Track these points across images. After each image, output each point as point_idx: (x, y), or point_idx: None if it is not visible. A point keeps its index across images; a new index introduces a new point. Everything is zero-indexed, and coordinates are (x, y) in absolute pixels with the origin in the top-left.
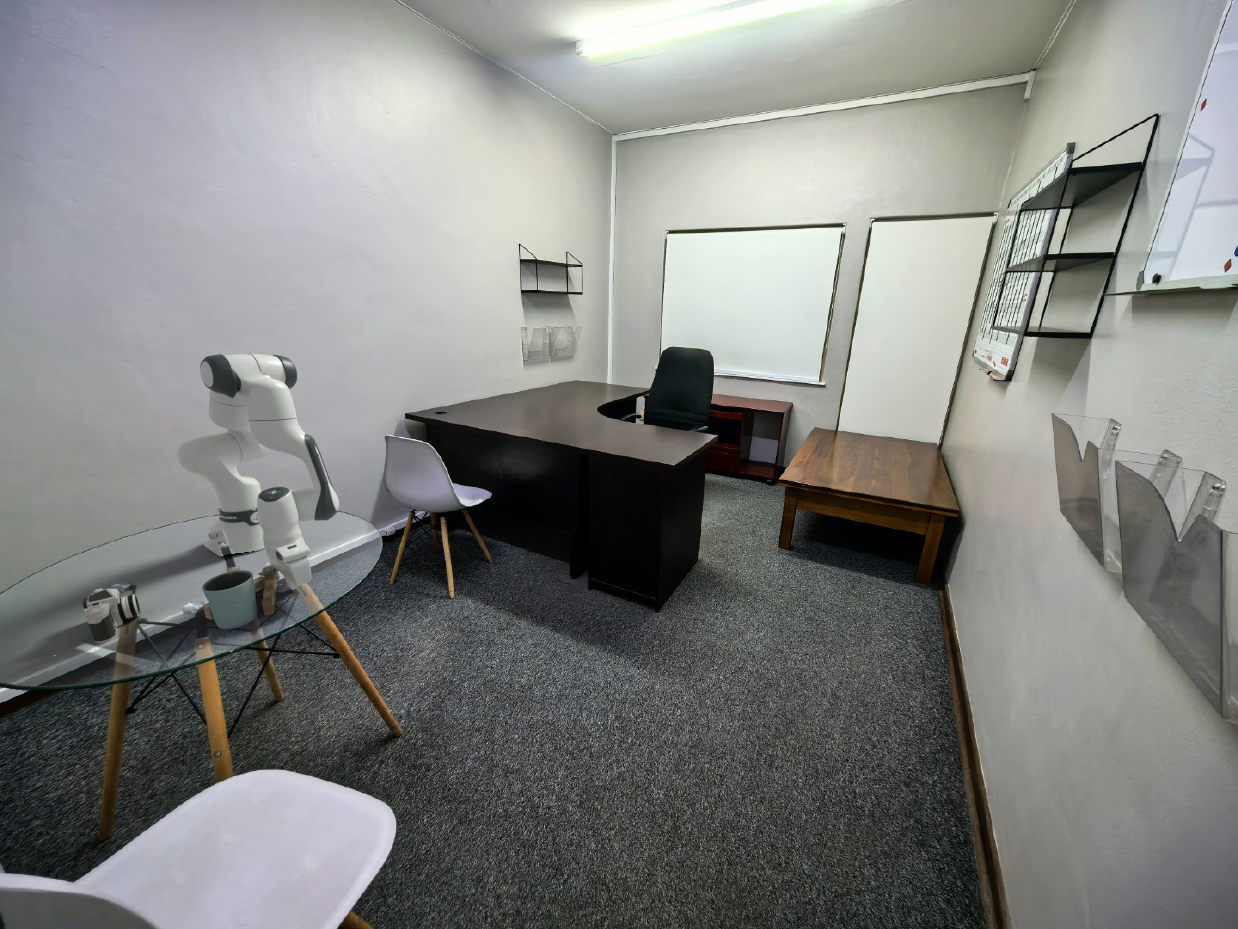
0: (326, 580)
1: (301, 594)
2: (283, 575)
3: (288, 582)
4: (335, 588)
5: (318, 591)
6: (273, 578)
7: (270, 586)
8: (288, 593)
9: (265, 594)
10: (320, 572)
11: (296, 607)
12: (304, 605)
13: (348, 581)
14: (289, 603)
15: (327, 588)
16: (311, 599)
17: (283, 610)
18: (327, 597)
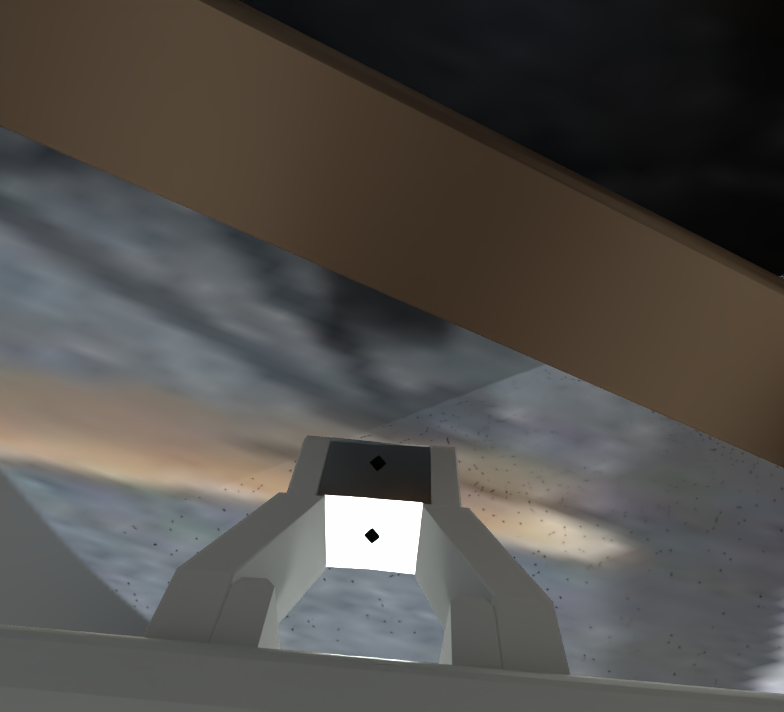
0: (396, 625)
1: (315, 433)
2: (539, 599)
3: (393, 507)
4: None
5: None
6: (771, 452)
7: (491, 291)
8: (460, 374)
9: (178, 51)
10: (585, 658)
11: (47, 290)
12: (40, 355)
13: None
14: (204, 284)
15: None
16: (129, 439)
17: (66, 165)
18: (70, 518)
